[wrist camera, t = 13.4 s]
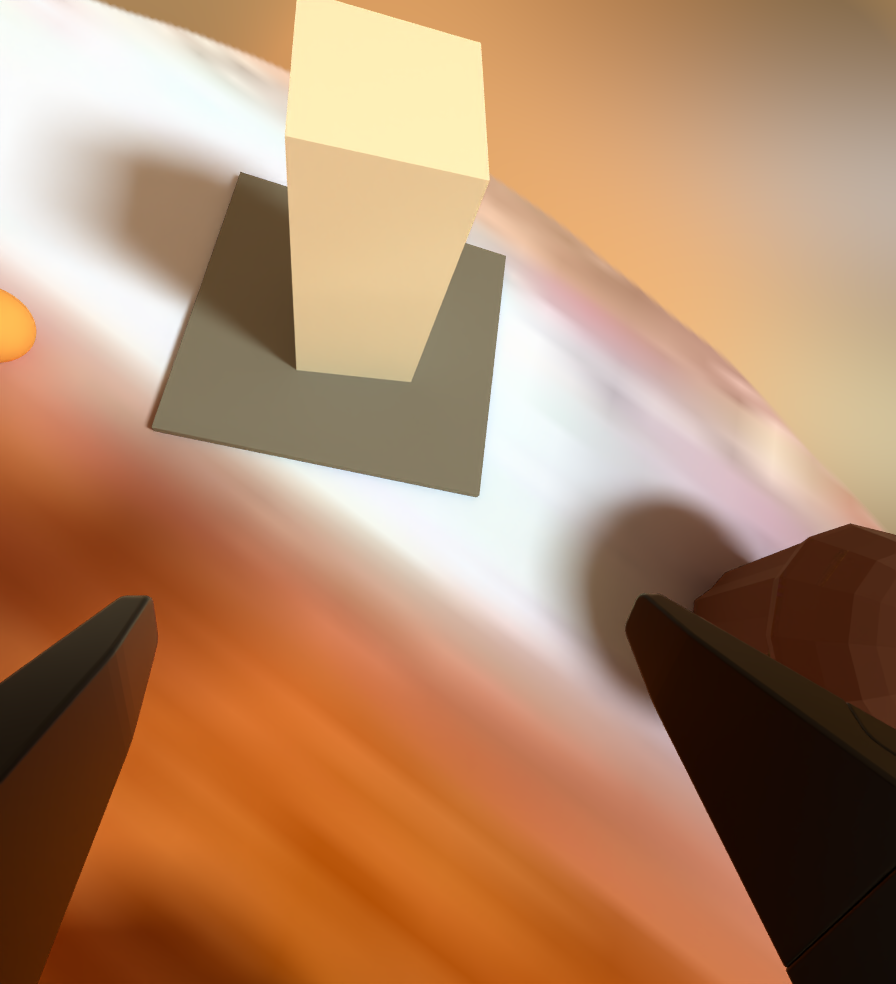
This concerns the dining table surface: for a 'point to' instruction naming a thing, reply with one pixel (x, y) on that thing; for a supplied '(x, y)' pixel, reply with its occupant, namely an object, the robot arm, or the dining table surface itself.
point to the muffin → (820, 613)
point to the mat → (322, 396)
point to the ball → (15, 328)
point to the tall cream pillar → (378, 183)
